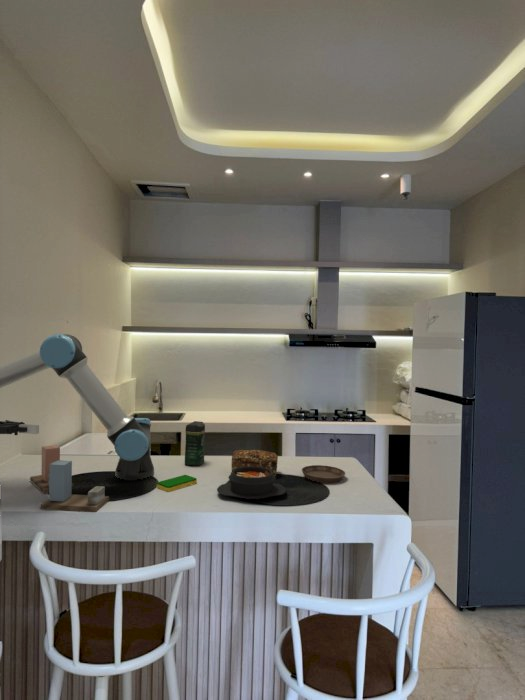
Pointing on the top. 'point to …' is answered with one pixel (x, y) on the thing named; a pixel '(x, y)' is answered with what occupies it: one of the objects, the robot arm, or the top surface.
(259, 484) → the casserole
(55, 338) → the robot arm
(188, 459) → the coffee jar
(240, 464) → the bread
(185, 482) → the dish sponge
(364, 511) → the top surface
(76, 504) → the wooden board with block
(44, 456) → the terracotta tall block
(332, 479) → the plant saucer
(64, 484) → the slate blue block
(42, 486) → the brown piece
